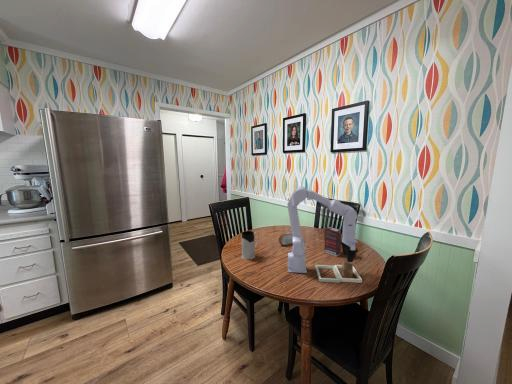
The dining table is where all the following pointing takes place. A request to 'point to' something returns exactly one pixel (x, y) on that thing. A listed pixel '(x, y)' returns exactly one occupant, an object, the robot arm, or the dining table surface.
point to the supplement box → (332, 241)
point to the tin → (286, 238)
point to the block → (347, 268)
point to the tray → (348, 278)
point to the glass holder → (248, 244)
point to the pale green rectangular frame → (327, 278)
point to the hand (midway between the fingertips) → (347, 258)
